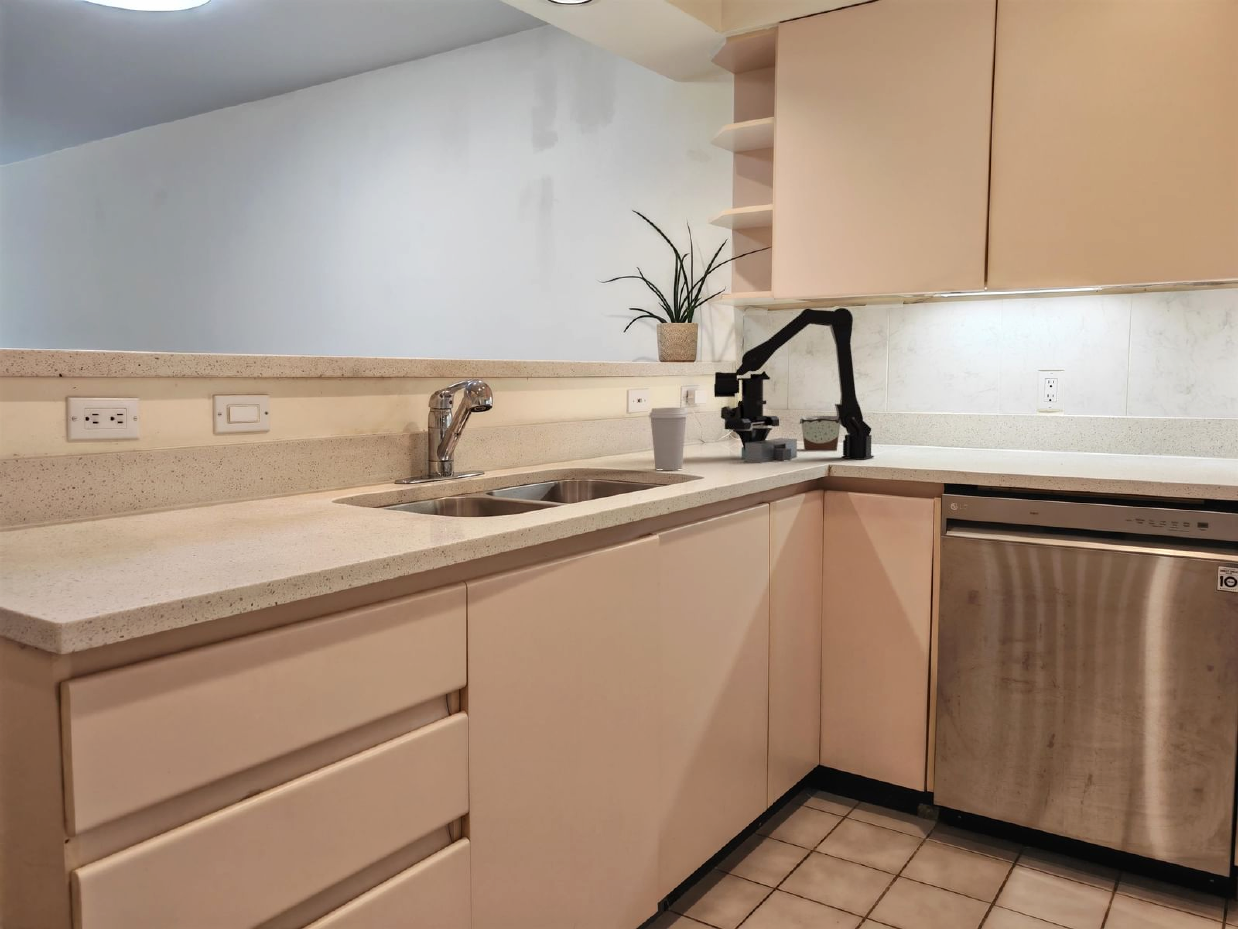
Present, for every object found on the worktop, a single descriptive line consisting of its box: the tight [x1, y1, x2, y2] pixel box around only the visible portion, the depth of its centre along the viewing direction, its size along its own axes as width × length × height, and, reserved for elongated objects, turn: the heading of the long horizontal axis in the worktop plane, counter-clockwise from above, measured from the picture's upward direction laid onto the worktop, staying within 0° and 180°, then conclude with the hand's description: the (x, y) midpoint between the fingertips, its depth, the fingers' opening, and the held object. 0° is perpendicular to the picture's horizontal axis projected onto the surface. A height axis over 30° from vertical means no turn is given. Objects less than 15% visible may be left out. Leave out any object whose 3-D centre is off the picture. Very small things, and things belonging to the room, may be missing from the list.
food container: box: [798, 415, 841, 452], centre depth 266 cm, size 12×6×10 cm, turn 84°
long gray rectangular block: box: [744, 437, 798, 463], centre depth 242 cm, size 5×18×5 cm, turn 139°
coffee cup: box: [648, 407, 689, 471], centre depth 221 cm, size 10×10×15 cm
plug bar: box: [741, 446, 792, 462], centre depth 243 cm, size 13×4×3 cm, turn 48°
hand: (752, 454), depth 246 cm, fingers closed on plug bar, 4 cm apart
